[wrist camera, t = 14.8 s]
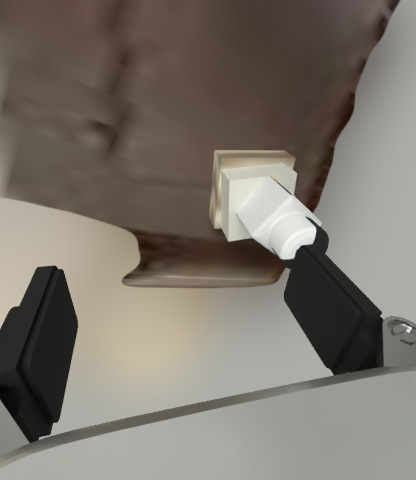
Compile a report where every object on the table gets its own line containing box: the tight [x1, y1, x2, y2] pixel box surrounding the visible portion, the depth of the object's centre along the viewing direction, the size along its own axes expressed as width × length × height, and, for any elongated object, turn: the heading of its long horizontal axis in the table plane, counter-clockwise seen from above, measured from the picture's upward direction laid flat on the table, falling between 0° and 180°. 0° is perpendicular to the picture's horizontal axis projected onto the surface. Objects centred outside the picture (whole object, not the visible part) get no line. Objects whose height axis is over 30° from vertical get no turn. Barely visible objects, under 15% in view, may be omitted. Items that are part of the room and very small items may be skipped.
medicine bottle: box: [236, 176, 329, 269], centre depth 36 cm, size 7×7×12 cm
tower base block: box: [209, 150, 295, 229], centre depth 47 cm, size 12×12×4 cm
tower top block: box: [221, 163, 297, 242], centre depth 43 cm, size 10×10×4 cm
